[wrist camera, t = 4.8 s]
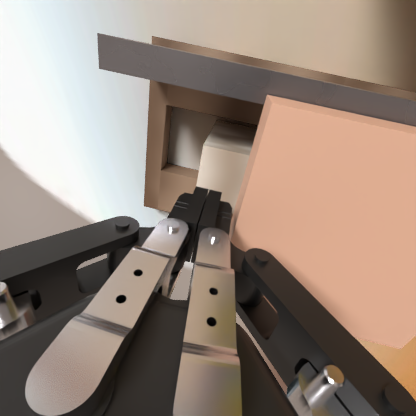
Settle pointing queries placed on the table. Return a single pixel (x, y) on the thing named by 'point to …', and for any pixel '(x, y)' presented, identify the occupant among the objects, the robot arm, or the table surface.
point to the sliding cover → (336, 212)
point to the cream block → (225, 159)
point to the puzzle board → (229, 97)
